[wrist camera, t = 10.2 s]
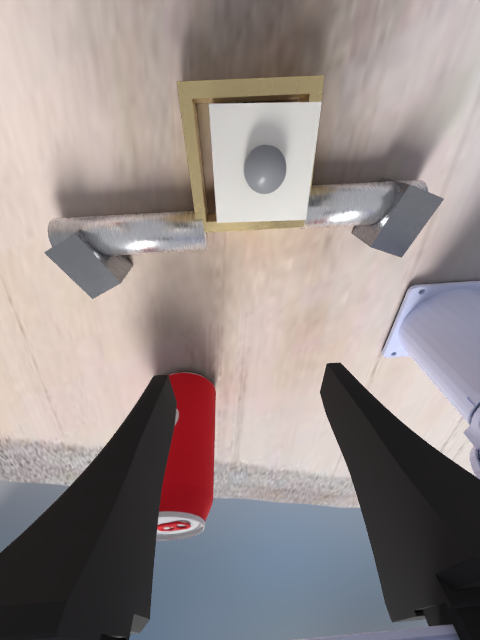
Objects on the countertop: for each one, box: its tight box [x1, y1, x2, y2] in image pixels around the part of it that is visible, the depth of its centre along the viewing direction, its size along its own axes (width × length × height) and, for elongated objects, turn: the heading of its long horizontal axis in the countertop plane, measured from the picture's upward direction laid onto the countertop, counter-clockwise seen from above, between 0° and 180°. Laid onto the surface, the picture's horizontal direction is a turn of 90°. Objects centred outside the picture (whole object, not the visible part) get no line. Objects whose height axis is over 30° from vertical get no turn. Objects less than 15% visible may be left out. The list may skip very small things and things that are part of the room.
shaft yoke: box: [45, 75, 443, 299], centre depth 15 cm, size 23×10×3 cm, turn 92°
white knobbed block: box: [209, 102, 322, 223], centre depth 12 cm, size 4×4×7 cm
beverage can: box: [156, 372, 216, 540], centre depth 22 cm, size 6×6×12 cm
